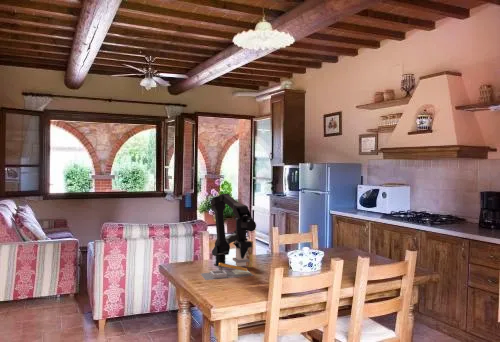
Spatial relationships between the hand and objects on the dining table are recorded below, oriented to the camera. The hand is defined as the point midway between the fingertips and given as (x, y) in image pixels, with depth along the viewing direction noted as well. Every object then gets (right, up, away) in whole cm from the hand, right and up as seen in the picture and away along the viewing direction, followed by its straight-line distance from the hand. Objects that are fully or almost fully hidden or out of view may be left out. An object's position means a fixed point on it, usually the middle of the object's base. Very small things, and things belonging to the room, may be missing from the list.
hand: (240, 257), depth 231 cm
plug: (0, -4, 0) cm, 4 cm away
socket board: (-7, -9, -5) cm, 12 cm away
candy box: (+2, -9, +15) cm, 18 cm away
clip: (-4, -4, -5) cm, 8 cm away
